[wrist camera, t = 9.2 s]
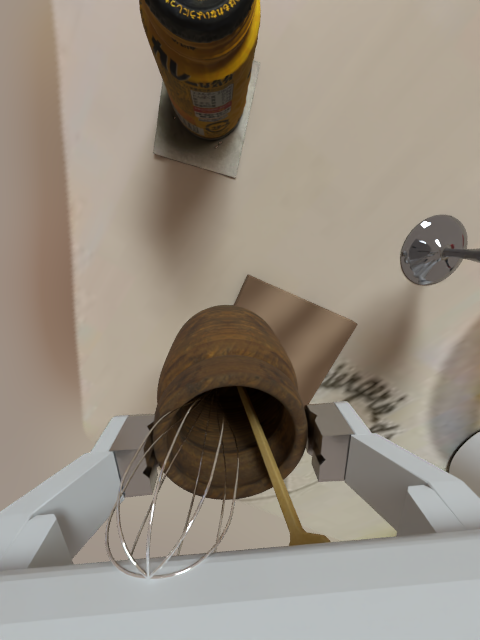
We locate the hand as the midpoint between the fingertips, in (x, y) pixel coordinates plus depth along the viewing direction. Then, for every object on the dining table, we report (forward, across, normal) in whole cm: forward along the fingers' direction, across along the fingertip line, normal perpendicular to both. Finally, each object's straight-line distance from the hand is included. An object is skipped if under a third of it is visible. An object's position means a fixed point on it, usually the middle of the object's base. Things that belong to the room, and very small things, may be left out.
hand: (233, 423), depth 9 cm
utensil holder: (+6, 0, 0) cm, 6 cm away
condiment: (+18, -1, +16) cm, 25 cm away
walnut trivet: (+18, +5, -6) cm, 20 cm away
